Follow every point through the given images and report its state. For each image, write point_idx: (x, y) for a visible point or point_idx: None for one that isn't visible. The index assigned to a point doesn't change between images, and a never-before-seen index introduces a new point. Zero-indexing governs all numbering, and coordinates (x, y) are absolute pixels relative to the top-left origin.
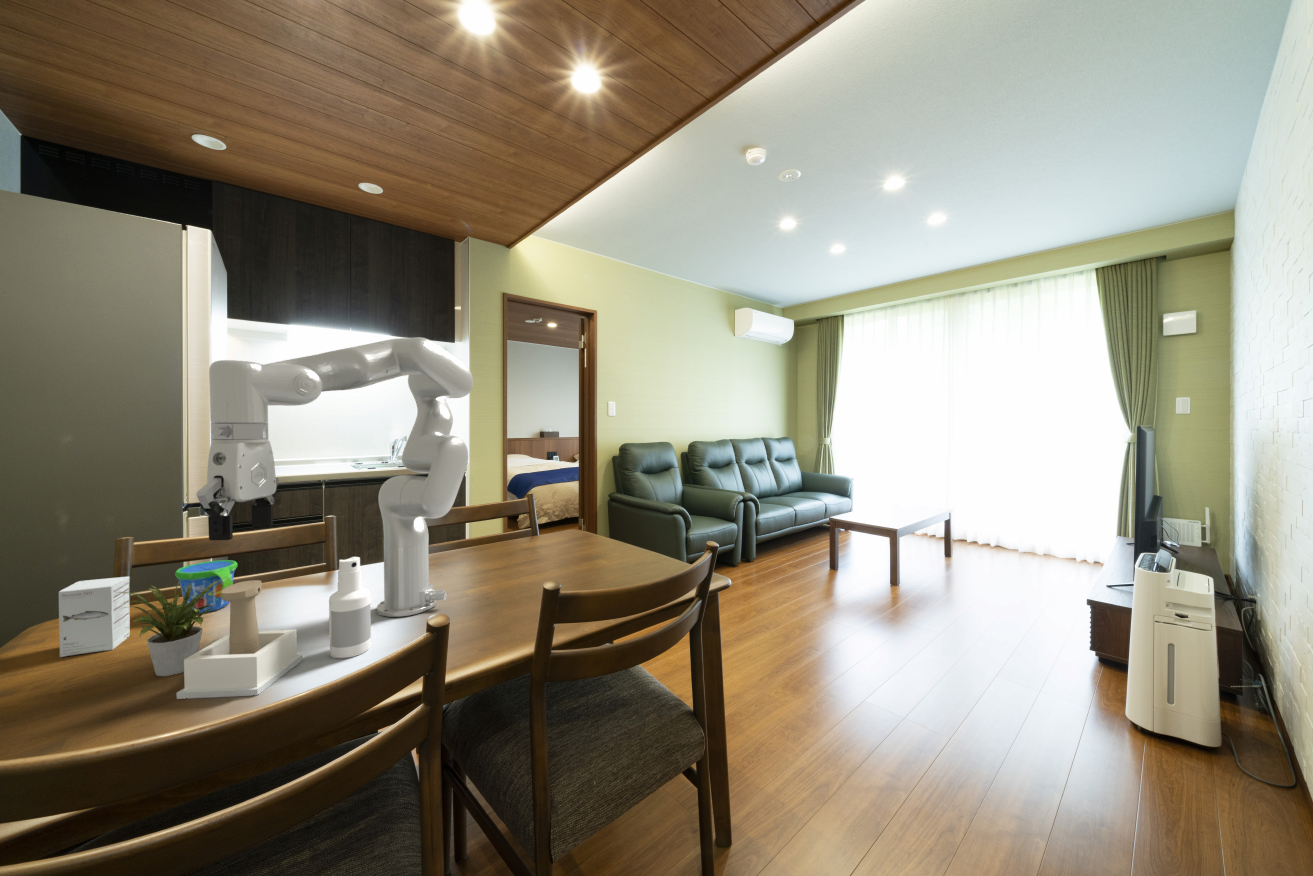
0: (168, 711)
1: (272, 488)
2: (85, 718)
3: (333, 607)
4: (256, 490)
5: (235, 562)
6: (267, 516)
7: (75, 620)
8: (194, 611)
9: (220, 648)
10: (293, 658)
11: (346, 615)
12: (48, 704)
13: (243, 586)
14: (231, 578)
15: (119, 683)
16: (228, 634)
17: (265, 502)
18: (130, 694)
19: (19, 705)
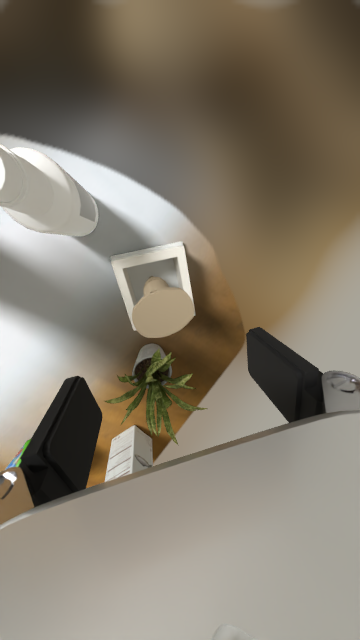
0: (207, 294)
1: None
2: (217, 340)
3: (78, 206)
4: (258, 535)
5: None
6: (71, 408)
7: (147, 461)
8: (147, 374)
9: None
10: (122, 257)
11: (75, 183)
12: (203, 378)
13: (162, 313)
14: (18, 461)
15: (176, 368)
16: None
17: (43, 485)
18: (189, 345)
19: (205, 391)
